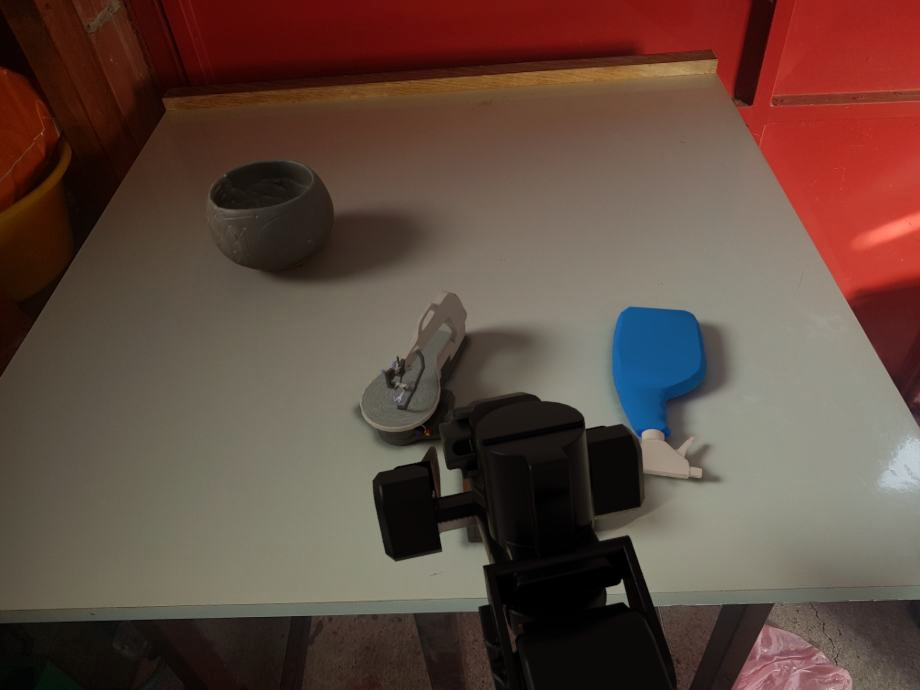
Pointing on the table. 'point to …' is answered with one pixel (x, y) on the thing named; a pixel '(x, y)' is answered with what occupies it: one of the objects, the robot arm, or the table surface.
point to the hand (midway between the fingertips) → (488, 439)
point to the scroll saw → (419, 377)
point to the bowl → (269, 214)
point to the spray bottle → (657, 379)
